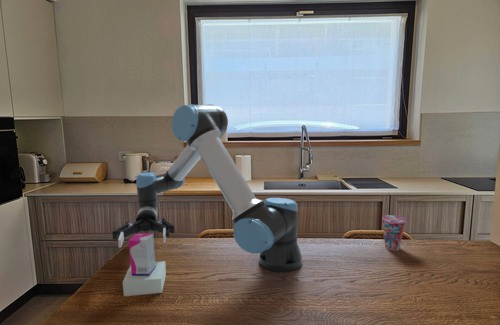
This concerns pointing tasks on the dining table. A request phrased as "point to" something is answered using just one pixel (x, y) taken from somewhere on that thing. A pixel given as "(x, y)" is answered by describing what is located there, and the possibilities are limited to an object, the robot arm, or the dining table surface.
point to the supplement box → (142, 254)
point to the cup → (393, 231)
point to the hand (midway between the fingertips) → (142, 241)
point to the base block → (145, 281)
